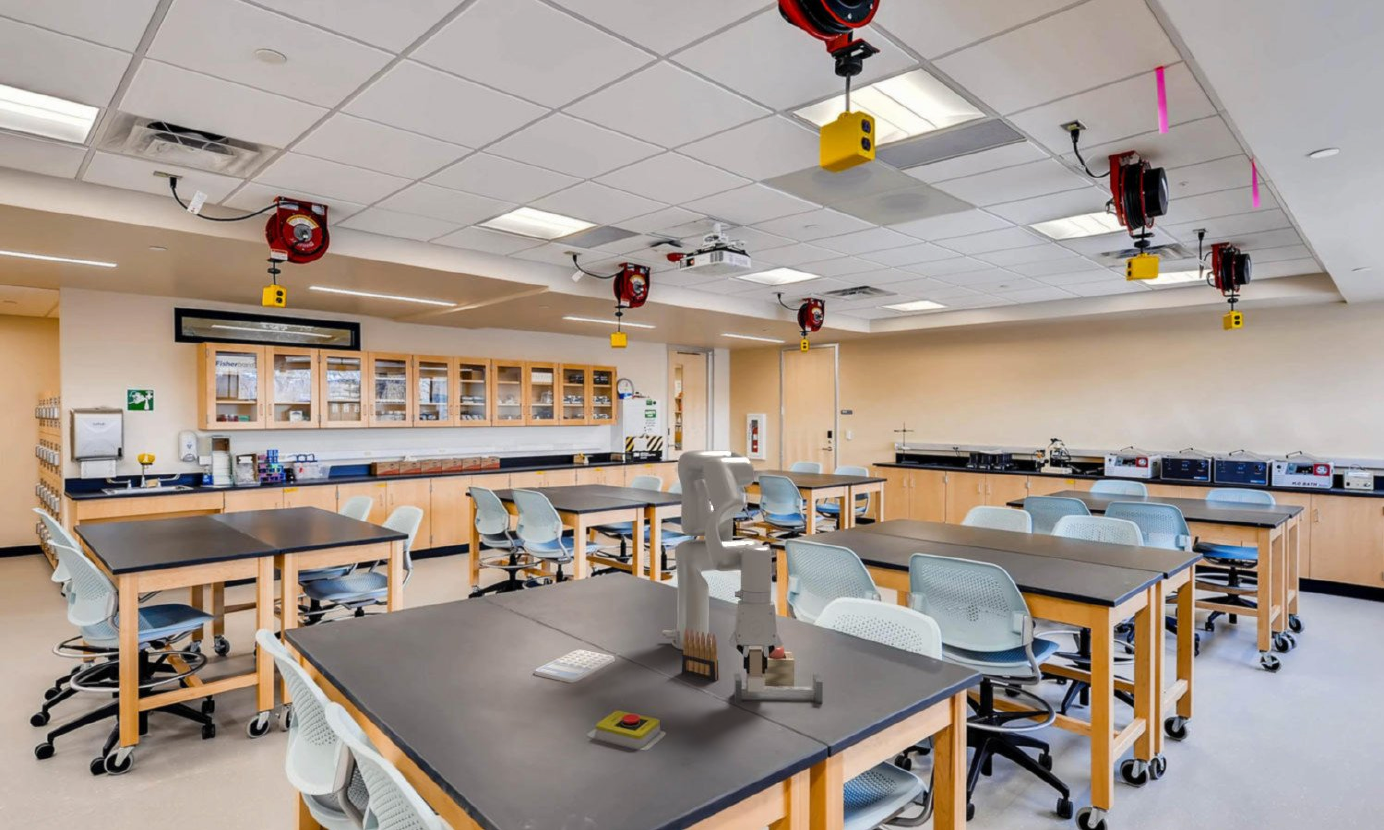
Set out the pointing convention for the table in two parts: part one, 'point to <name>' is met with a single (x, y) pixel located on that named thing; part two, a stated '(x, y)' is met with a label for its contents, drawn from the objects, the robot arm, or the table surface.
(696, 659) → the ammunition clip
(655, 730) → the emergency button
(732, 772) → the table surface
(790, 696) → the rail
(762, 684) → the carriage
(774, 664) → the wooden box
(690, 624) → the robot arm
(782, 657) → the button
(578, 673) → the calculator
